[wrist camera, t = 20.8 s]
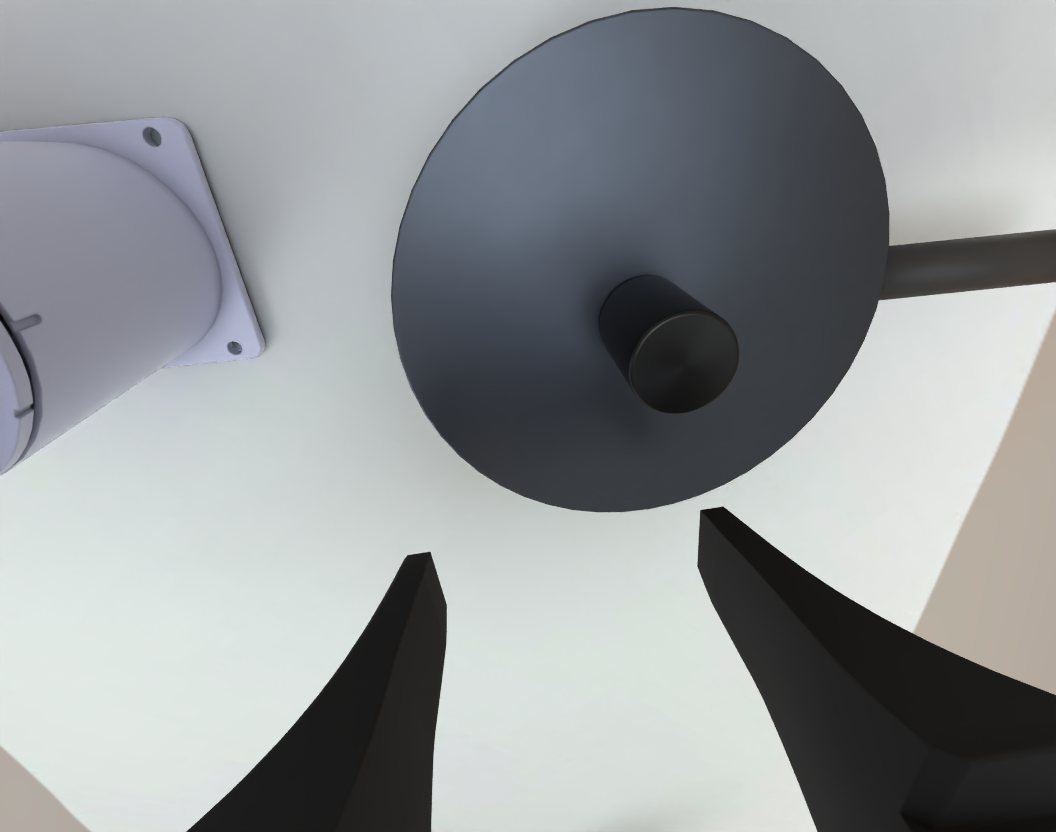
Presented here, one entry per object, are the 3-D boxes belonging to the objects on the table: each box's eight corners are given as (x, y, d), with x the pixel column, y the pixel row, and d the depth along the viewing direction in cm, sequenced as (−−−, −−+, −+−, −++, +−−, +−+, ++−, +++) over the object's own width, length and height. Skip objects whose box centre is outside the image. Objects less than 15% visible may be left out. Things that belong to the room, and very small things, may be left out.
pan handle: (789, 299, 16) (818, 314, 15) (797, 249, 15) (829, 259, 14) (1096, 268, 16) (1153, 279, 15) (1121, 217, 16) (1183, 223, 14)
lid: (578, 550, 18) (602, 653, 15) (292, 275, 13) (213, 327, 9) (920, 336, 15) (1062, 397, 12) (732, -151, 10) (887, -337, 6)
